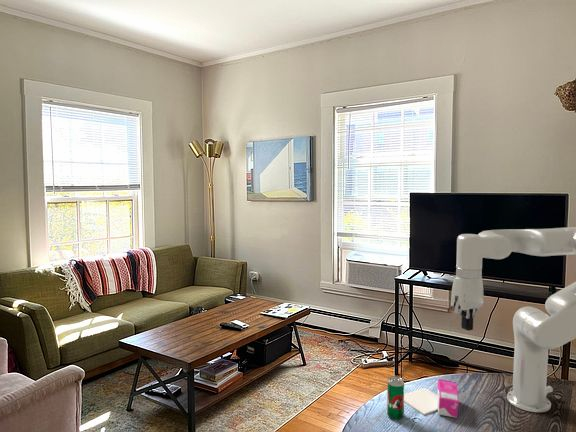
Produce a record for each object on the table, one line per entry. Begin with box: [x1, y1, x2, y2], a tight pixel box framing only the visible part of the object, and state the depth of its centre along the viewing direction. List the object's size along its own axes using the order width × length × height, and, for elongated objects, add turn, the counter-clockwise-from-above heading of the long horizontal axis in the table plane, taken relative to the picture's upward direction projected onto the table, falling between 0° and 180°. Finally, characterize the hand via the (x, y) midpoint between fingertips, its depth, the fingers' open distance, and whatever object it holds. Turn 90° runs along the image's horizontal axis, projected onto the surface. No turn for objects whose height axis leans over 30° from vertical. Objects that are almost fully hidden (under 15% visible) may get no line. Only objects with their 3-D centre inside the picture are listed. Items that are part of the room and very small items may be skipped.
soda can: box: [386, 375, 405, 421], centre depth 138 cm, size 5×5×12 cm
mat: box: [404, 387, 438, 416], centre depth 146 cm, size 12×12×1 cm
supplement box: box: [436, 378, 460, 419], centre depth 142 cm, size 6×6×12 cm
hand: (467, 328), depth 142 cm, fingers closed
